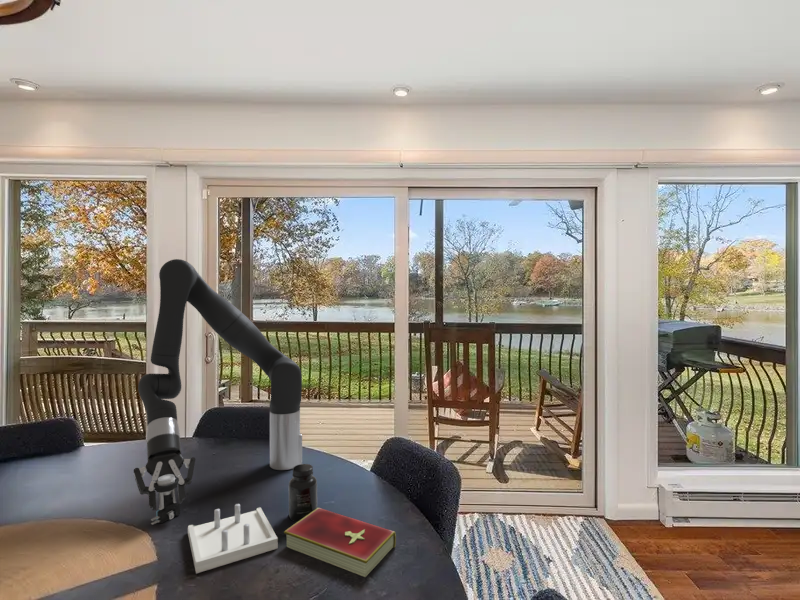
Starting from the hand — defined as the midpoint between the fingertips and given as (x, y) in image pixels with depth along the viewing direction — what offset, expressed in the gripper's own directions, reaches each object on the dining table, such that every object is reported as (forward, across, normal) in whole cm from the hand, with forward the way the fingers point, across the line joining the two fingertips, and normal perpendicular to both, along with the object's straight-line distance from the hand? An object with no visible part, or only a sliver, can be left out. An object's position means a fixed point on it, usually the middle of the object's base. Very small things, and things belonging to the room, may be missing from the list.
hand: (167, 505), depth 103 cm
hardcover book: (+25, +31, -17) cm, 43 cm away
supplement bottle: (+13, +28, -6) cm, 32 cm away
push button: (+2, 0, +4) cm, 5 cm away
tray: (+14, +11, -8) cm, 19 cm away
